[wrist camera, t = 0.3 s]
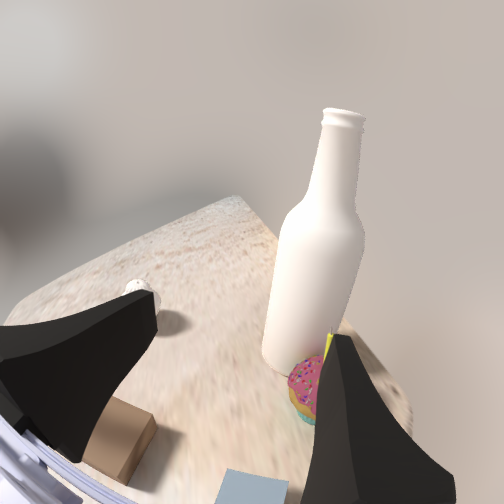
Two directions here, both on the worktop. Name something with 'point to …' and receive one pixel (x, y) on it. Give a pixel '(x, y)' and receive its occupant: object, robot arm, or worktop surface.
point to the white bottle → (317, 250)
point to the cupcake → (307, 384)
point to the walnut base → (119, 440)
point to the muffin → (144, 285)
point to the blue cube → (250, 489)
